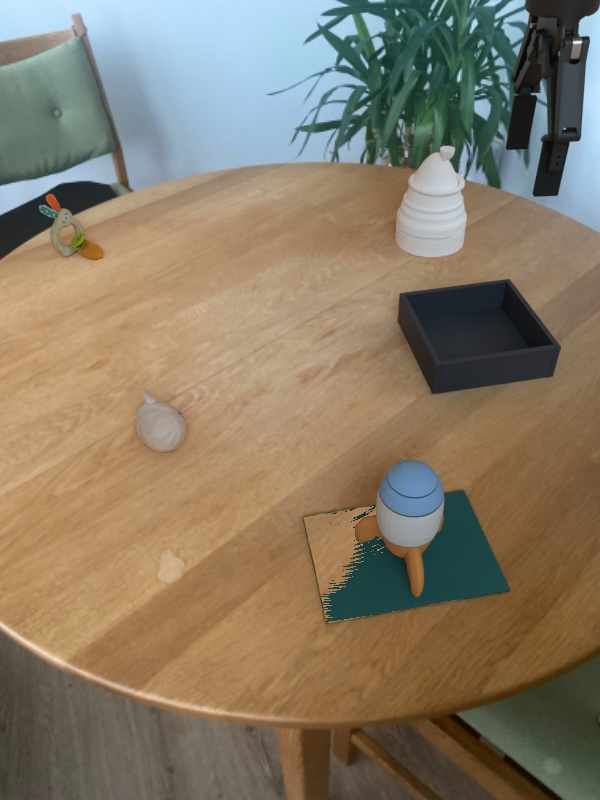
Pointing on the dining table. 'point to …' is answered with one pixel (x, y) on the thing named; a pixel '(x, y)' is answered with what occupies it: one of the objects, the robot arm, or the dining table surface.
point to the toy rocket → (406, 515)
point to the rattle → (64, 220)
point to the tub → (476, 336)
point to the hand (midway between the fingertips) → (529, 170)
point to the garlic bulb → (159, 424)
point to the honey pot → (432, 209)
